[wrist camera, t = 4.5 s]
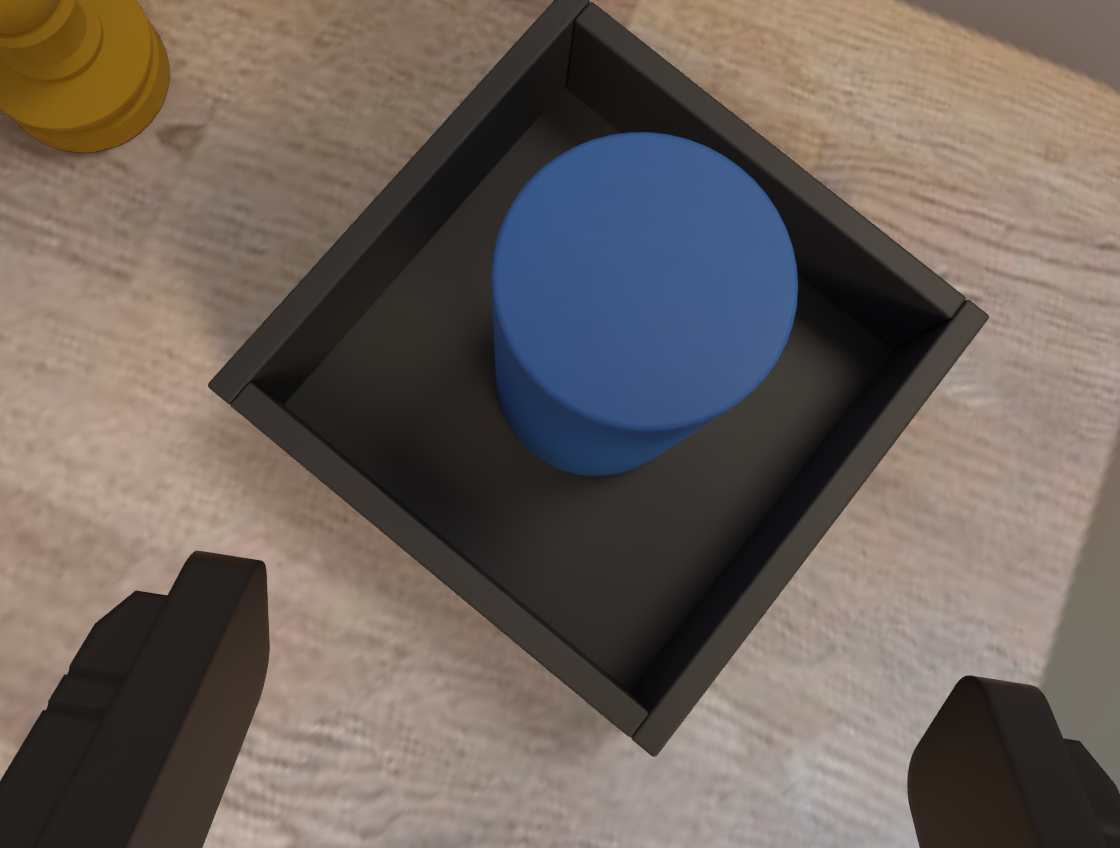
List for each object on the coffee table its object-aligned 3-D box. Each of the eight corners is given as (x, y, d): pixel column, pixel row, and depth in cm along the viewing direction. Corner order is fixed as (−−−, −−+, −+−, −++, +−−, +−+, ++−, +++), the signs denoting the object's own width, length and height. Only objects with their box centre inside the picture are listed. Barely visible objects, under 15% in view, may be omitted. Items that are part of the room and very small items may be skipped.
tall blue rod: (734, 364, 22) (859, 259, 14) (610, 518, 22) (672, 496, 14) (581, 241, 23) (623, 70, 15) (454, 390, 22) (426, 294, 14)
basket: (918, 351, 23) (991, 315, 20) (631, 727, 22) (655, 759, 18) (559, 65, 24) (569, -19, 20) (252, 412, 22) (205, 385, 19)
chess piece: (74, 186, 23) (-46, 82, 18) (-34, 68, 23) (-184, -68, 18) (205, 81, 23) (123, -49, 18) (97, -34, 23) (-12, -193, 18)
